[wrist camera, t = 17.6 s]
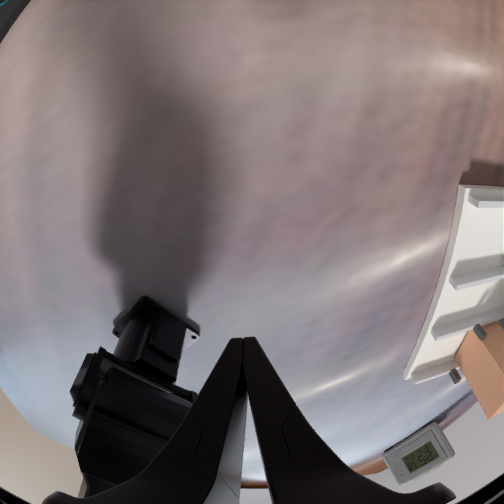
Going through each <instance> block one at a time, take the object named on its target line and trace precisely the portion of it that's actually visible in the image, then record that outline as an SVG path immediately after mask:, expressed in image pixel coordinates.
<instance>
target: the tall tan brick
mask: <svg viewBox="0 0 504 504" xmlns="http://www.w3.org/2000/svg"><path fill="white" fill-rule="evenodd" d="M482 328H483V329H484V330H485V332H486V333H487V334H488V335H487V337H486V338H485V340H482V341H480V339H479V338H478V337H477V335H476V334H475V332H474V331H473V330H470V331H468V333H467V335H466V337H465V339H464V341H463V343H462V345H461V347H460V349H459V351H458V352H457V354H456V356H455V358H454V359H455V360H456V362H457V364H458V365H459V367H460V369H461V370H462V372H463V374H464V376H465V377H466V379H467V381H468V383H469V385H470V386H471V388H472V390H473V392H474V394H475V395H476V397H477V399H478V401H479V403H480V405H481V407H482V409H483V411H484V413H485V415H486V417H487V419H490V418H492V417H493V416H495V415H497V414H498V413H500V412H502V411H503V410H504V329H503V328H502V327H501V326H500V324H499V323H498V322H497V321H494V322H492V323H489V324H486V325H484V326H482Z"/></svg>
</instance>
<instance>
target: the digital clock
mask: <svg viewBox="0 0 504 504" xmlns="http://www.w3.org/2000/svg"><path fill="white" fill-rule="evenodd" d="M454 455H455V452H454V450H453V449H452V446H451V445H450V443H449V442H448V440H447V438H446V437H445V435H444V433H443V432H442V430H441V428H440V427H439V425H438V424H437V423H436V422H432V423H430V424H429V425H427V426H426V427H424V428H421V429H420V430H418V431H417V432H415V433H414V434H412V435H411V436H409V437H408V438H406V439H405V440H403V441H401V442H400V443H398V444H397V445H395V446H393V447H392V449H390V450H388V451H386V452H385V453H383V455H382V457H383V459H384V461H385V463H386V465H387V466H388V468H389V470H390V472H391V473H392V475H393V477H394V479H395V481H396V482H397V484H398V485H399V486H403V485H405V484H407V483H409V482H411V481H413V480H416V479H417V478H420V477H421V476H423V475H425V474H427V473H429V472H431V471H432V470H434V469H436V468H438V467H439V466H441V465H442V464H444V463H445V462H447V461H449V460H450V459H452V458H453V457H454Z"/></svg>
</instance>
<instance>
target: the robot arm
mask: <svg viewBox="0 0 504 504" xmlns="http://www.w3.org/2000/svg"><path fill="white" fill-rule="evenodd" d="M143 301H145V302H146V303H145V302H143ZM112 332H113V334H114V335H115V336H117V337H118V338H120V339H119V341H118V343H117V346H116V348H115V351H114V353H113V354H111V353H109V352H107V351H106V349H104V348H102V347H101V346H100V348H99V350H98V352H97V353H94V354H90V353H87V355H86V357H85V359H84V361H83V364H82V366H81V368H80V370H79V372H78V374H77V377H76V379H75V381H74V383H73V385H72V388H71V390H70V394H71V396H72V399H73V401H74V403H73V407H75V408H74V411H73V414H72V416H73V417H75V418H77V419H80V422H79V425H78V428H77V431H76V438H75V451H76V455H77V458H78V462H79V466H80V470H81V472H82V474H83V477H84V478H83V481H82V485H81V488H80V492H79V495H78V498H76V497H73V496H70V495H68V494H65V493H63V492H60V491H56V492H54V493H53V494H51V495H50V496H48V497H47V498H45V500H44V501H43V502H42V504H239V498H240V497H239V496H240V486H241V475H242V463H243V451H244V439H245V427H246V414H247V402H248V397H249V402H250V407H251V412H252V416H253V421H254V426H255V431H256V435H257V440H258V444H259V449H260V454H261V458H262V462H263V467H264V471H265V476H266V480H267V484H268V488H269V492H270V497H271V500H272V504H446V503H448V502H450V501H452V500H454V499H455V498H456V496H455V494H454V493H453V492H452V491H451V490H450V489H449V488H447V487H446V486H444V485H443V484H442V483H436V484H433V485H430V486H428V487H426V488H423V489H421V490H419V491H416V492H413V493H407V494H403V493H397V492H395V491H392V490H390V489H388V488H386V487H383V486H382V485H380V484H378V483H376V482H374V481H372V480H370V479H368V478H366V477H364V476H362V475H360V474H359V473H357V472H355V471H354V470H352V469H351V468H350V467H348V466H347V465H346V464H345V463H344V462H343V461H342V460H341V459H340V458H339V457H338V456H337V455H336V454H335V453H334V452H333V451H332V450H331V449H330V447H329V446H328V445H327V444H326V443H325V442H324V441H323V440H322V439H321V438H320V436H319V435H318V434H317V433H316V432H315V430H314V429H313V428H312V427H311V426H310V424H309V423H308V421H307V420H306V419H305V417H304V416H303V414H302V413H301V411H300V409H299V408H298V406H296V403H295V402H294V400H293V399H292V397H291V395H290V394H289V392H288V390H287V389H286V387H285V386H284V384H283V382H282V381H281V379H280V377H279V376H278V374H277V372H276V371H275V369H274V368H273V366H272V364H271V363H270V361H269V359H268V358H267V356H266V354H265V353H264V351H263V349H262V347H261V346H260V344H259V342H258V341H257V339H256V338H255V337H244V338H231V339H230V341H229V342H228V344H227V346H226V348H225V349H224V351H223V353H222V355H221V356H220V358H219V360H218V362H217V363H216V365H215V367H214V369H213V370H212V372H211V374H210V375H209V377H208V379H207V381H206V382H205V384H204V386H203V387H202V389H201V391H200V393H199V394H198V395H197V393H196V392H193V391H188V390H186V389H183V388H181V387H179V386H176V385H175V382H176V379H177V373H178V368H179V362H180V359H181V354H182V352H183V351H184V350H186V349H187V348H188V347H190V346H191V345H192V344H194V343H195V342H196V341H198V340H199V336H200V334H199V332H197V331H196V330H194V329H193V328H191V327H190V326H188V325H187V324H185V323H184V322H182V321H181V320H180V319H178V318H177V317H175V316H174V315H172V314H171V313H169V312H168V311H167V310H165V309H164V308H162V307H161V306H159V305H158V304H157V303H155V302H154V301H153V300H151V299H150V298H148V297H147V296H142V297H141V298H140V299H139V300H138V301H137V302H136V303H135V304H134V306H133V307H132V308H131V309H130V310H129V311H128V312H127V313H126V314H125V316H124V317H123V318H122V319H121V320H120V321H119V322H118V324H117V325H116V326H115V327H114V329H113V331H112ZM193 335H194V336H193ZM0 504H31V503H29V502H27V501H25V500H23V499H22V498H20V497H17V496H16V495H14V494H12V493H10V492H9V491H7V490H5V489H4V488H2V487H0ZM455 504H504V473H503V474H502V475H500V476H499V477H497V478H496V479H494V480H493V481H491V482H490V483H488V484H487V485H485V486H484V487H482V488H481V489H479V490H477V491H476V492H474V493H473V494H471V495H470V496H468V497H466V498H464V499H463V500H461V501H459V502H457V503H455Z"/></svg>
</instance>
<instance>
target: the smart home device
mask: <svg viewBox="0 0 504 504" xmlns="http://www.w3.org/2000/svg"><path fill="white" fill-rule="evenodd" d="M30 1H31V0H0V43H1V42H2V40H3V38H4V37H5V35H6V34H7V32H8V31H9V29H10V28H11V26H12V25H13V24H14V22H15V21H16V19H17V18H18V17H19V15H20V14H21V12H22V11H23V10H24V9H25V7H26V6H27V5H28V3H29V2H30Z"/></svg>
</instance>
